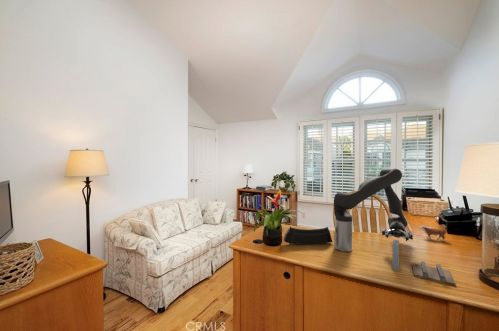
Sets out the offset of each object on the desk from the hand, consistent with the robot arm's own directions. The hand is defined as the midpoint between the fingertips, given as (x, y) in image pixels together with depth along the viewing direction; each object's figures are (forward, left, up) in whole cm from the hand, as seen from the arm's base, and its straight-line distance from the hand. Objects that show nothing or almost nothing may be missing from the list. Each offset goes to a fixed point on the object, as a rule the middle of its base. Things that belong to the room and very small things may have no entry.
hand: (396, 237), depth 118 cm
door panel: (0, -12, -11) cm, 16 cm away
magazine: (-46, -8, -11) cm, 48 cm away
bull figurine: (+19, +47, -11) cm, 52 cm away
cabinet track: (+14, -12, -11) cm, 21 cm away
